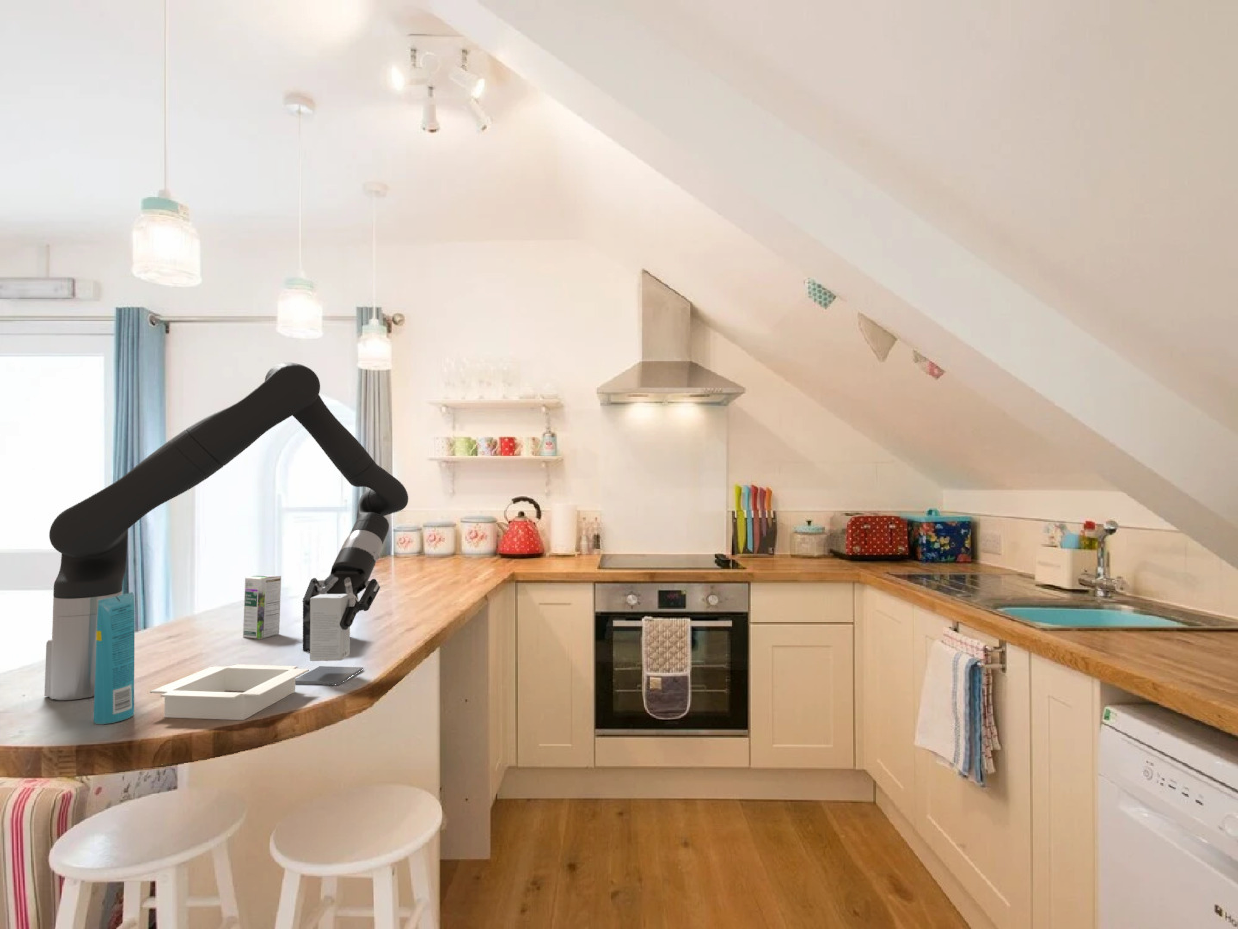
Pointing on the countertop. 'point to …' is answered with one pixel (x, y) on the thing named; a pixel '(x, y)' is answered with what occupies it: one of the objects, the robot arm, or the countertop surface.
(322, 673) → the coaster
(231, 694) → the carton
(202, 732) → the countertop surface
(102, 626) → the tube
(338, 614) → the skincare box
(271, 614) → the syrup box
